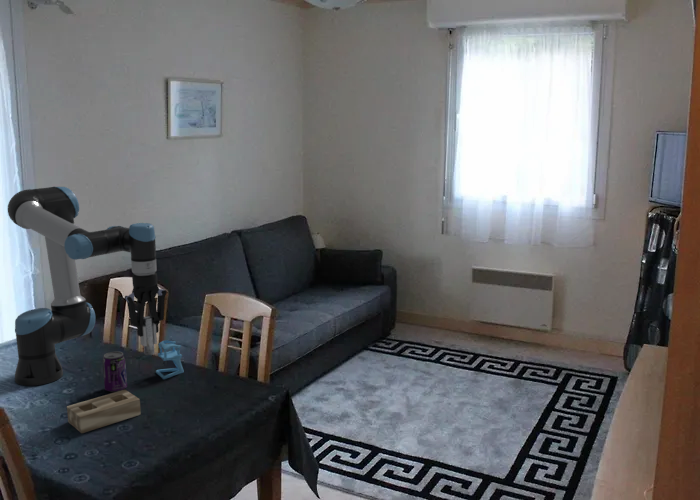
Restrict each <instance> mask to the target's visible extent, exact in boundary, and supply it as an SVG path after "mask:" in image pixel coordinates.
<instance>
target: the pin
mask: <svg viewBox="0 0 700 500" xmlns="http://www.w3.org/2000/svg"><path fill="white" fill-rule="evenodd" d="M143 326H146V341H147V346H145V347H144V346H143V349H144V350H143V351H144V355H146V356H152V355H154V354H155V344H154V339H153V322H152V317H151V315H150V316H149V315H148V316H144V321H143Z"/></svg>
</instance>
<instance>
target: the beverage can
mask: <svg viewBox="0 0 700 500" xmlns="http://www.w3.org/2000/svg"><path fill="white" fill-rule="evenodd" d="M101 362H102V373H103V384H104V390H105V391H106V392H110V393H115V392H118V391H122V390H126V389H127V387H128V380H127V379H128V378H127V367H126V366H127V365H126V358H125V356H124V352H122V351H110V352H107V353H104V354H103V357H102V361H101Z"/></svg>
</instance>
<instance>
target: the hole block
mask: <svg viewBox="0 0 700 500" xmlns="http://www.w3.org/2000/svg"><path fill="white" fill-rule="evenodd" d="M141 411H142V410H141V399H140V397H139V398H138V397H137V396H136V395H134V394H132V393H131V392H130V391H128V390H127V389H123V390H121V391H118V392H110V393H108V394H105V395H102V396H98V397H95V398H91V399H88V400H85V401H81V402H80V401H79V402H77V403H74V404H70V405H67V406H66V412H67V423H69V424H70V426H72V427H73V428H75V429H76V430H77V431H78V432H79V433H80V434H84V433H87V432H91V431H95V430H97V429H99V428H103V427H106V426H109V425H113V424H115V423H119V422H122V421H125V420H127V419H132V418H135V417H137V416H140V415H142V414H141V413H142V412H141Z"/></svg>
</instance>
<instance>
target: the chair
mask: <svg viewBox="0 0 700 500" xmlns="http://www.w3.org/2000/svg"><path fill="white" fill-rule="evenodd" d="M176 342H177V341H174V340H173V341H172V340H167V339H166V340H162V341H160V342H159V343H157V344H158V350H159V353H157V357H159V358H160V359H161V360H162V361H163V362H165V361H167V362H168V361H172V362H173V364H174V365H175V367H172V368H171V367H170V368H163V369H157V370H155V373H156V375H158V376H159V377H160V378H161V379H162V380H167V379H169V378H172V377H174V376H177V375H181V374H183V373H184V368H183V364H182V361H181V359H183V354H181V353H180V351H181V348H182V344H181V345H180V344H179V345H178V344H176ZM170 349H172V350H170ZM176 349H177V350H176ZM168 350H169V351H168ZM167 372H168V373H169V372H172V373H169V374H165V375H164V374H163V373H167Z"/></svg>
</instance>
